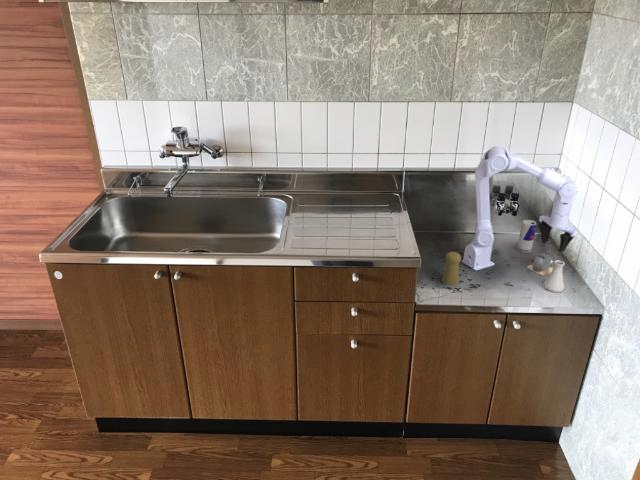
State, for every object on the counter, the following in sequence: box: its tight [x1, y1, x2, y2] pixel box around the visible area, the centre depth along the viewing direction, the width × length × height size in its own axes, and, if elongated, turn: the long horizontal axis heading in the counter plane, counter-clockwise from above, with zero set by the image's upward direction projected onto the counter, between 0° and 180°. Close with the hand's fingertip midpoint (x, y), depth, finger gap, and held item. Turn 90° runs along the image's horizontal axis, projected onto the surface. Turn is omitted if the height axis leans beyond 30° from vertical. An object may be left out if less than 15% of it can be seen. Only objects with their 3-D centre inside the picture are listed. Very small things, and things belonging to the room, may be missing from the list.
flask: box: [542, 259, 566, 293], centre depth 177 cm, size 7×7×10 cm
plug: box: [533, 252, 554, 272], centre depth 189 cm, size 8×4×5 cm, turn 117°
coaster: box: [526, 263, 554, 277], centre depth 190 cm, size 7×7×1 cm
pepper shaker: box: [441, 251, 462, 286], centre depth 181 cm, size 6×6×11 cm
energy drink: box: [516, 219, 537, 254], centre depth 201 cm, size 5×5×12 cm
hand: (553, 246), depth 185 cm, fingers open, 7 cm apart
